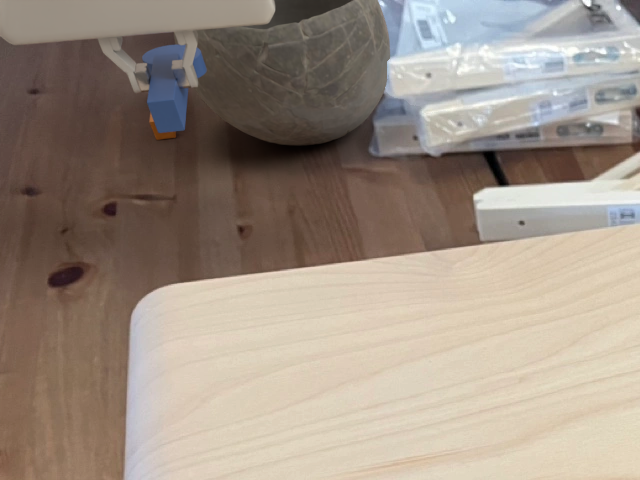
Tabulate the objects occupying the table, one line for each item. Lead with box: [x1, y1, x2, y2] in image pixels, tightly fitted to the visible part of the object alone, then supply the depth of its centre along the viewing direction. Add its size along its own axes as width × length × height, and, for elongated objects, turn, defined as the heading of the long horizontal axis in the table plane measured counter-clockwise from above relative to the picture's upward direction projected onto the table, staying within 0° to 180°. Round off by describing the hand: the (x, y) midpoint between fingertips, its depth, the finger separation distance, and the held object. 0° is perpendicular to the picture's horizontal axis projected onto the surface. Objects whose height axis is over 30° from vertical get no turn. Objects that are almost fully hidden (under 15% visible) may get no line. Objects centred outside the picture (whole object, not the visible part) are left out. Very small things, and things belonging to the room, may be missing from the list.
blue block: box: [141, 44, 207, 133], centre depth 86 cm, size 15×5×2 cm, turn 18°
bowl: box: [173, 0, 391, 146], centre depth 106 cm, size 20×20×15 cm
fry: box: [149, 111, 177, 141], centre depth 113 cm, size 12×2×2 cm, turn 19°
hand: (166, 87), depth 84 cm, fingers closed on blue block, 2 cm apart
